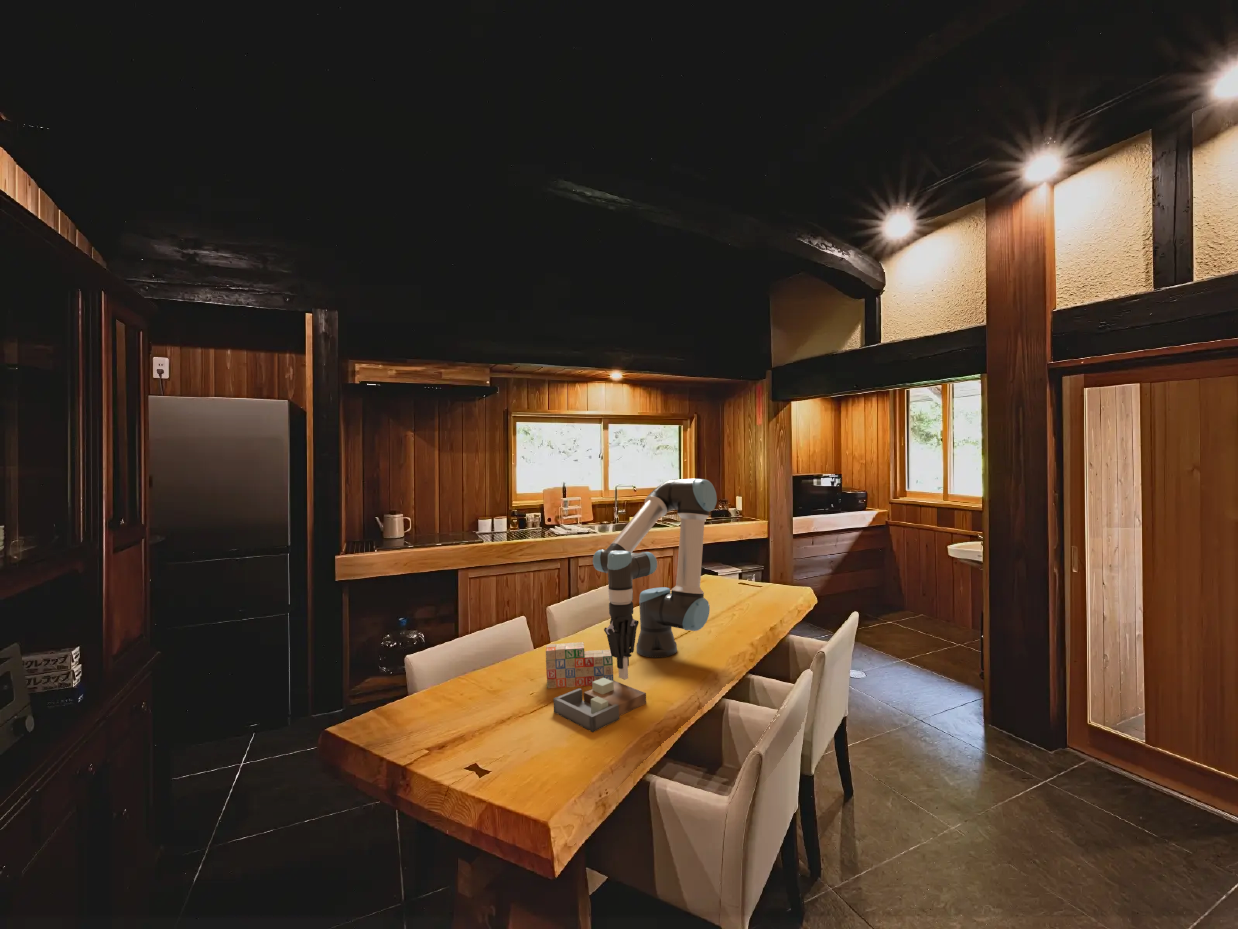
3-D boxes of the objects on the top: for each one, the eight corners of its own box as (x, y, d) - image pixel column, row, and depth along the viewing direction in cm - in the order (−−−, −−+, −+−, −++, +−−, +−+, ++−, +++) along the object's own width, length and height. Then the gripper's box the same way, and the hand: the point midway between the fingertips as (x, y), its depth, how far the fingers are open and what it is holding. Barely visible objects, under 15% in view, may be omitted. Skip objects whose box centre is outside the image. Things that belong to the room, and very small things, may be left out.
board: (613, 690, 170) (613, 680, 170) (646, 703, 160) (645, 693, 160) (584, 702, 162) (583, 692, 162) (616, 717, 151) (616, 706, 151)
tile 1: (603, 685, 166) (603, 677, 166) (613, 689, 163) (613, 681, 163) (592, 690, 163) (592, 682, 163) (602, 694, 160) (602, 686, 160)
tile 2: (597, 696, 154) (590, 699, 152) (608, 701, 150) (601, 704, 149) (597, 712, 154) (591, 715, 152) (608, 717, 150) (601, 720, 149)
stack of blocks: (612, 677, 181) (611, 640, 181) (613, 685, 174) (612, 646, 174) (548, 681, 179) (546, 643, 179) (546, 688, 173) (545, 650, 173)
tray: (580, 701, 163) (579, 688, 163) (619, 719, 150) (619, 704, 150) (553, 712, 156) (553, 698, 156) (592, 732, 144) (592, 717, 144)
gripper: (627, 595, 176) (629, 669, 176) (597, 603, 167) (599, 681, 167) (644, 599, 171) (646, 675, 171) (613, 608, 162) (616, 687, 162)
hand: (623, 677), depth 169 cm, fingers closed
